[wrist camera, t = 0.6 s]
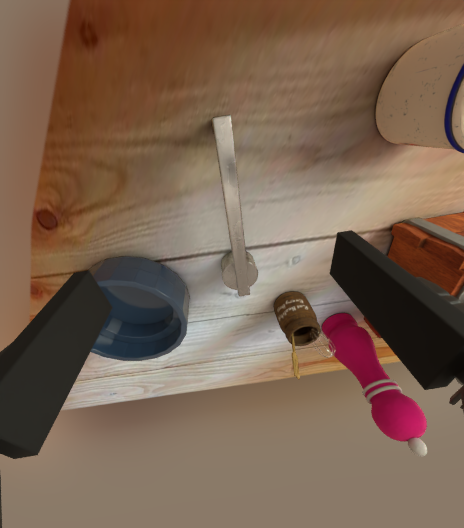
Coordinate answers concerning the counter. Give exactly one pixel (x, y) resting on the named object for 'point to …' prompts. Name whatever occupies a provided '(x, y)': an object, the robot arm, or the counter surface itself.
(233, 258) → the bent grey beam
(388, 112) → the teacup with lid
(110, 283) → the bowl
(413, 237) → the milk bottle holder
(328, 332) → the pepper mill
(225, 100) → the counter surface
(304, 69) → the counter surface
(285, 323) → the utensil holder
